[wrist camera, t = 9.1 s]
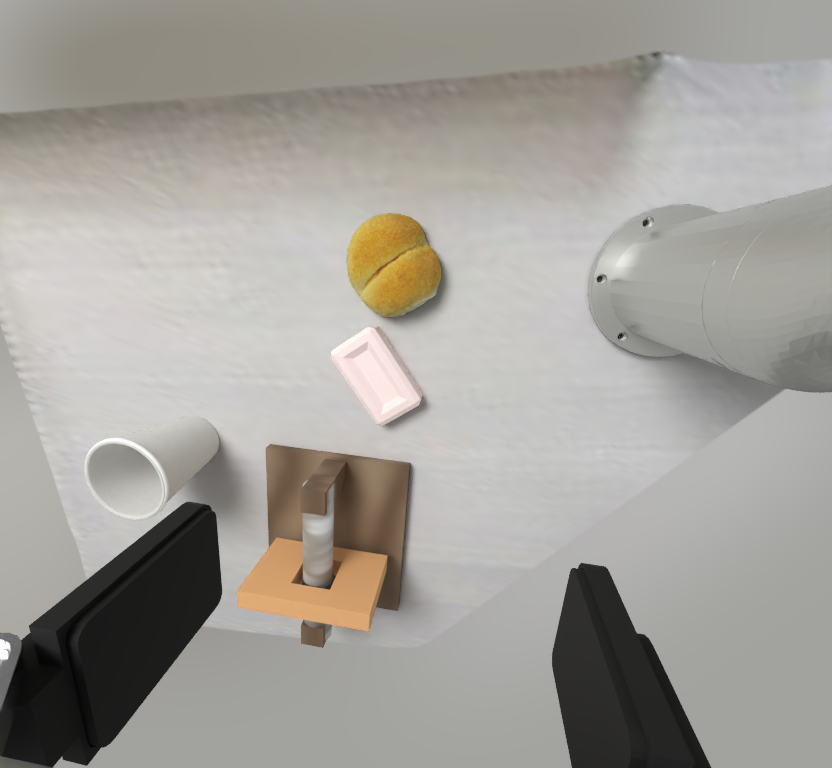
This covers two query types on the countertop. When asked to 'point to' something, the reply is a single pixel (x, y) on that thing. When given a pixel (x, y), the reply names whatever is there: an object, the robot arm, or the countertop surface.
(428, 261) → the bread roll
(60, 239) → the countertop surface
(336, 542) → the pipe stand
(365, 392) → the soap bar
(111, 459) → the dixie cup
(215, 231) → the countertop surface
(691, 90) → the countertop surface
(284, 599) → the collar
